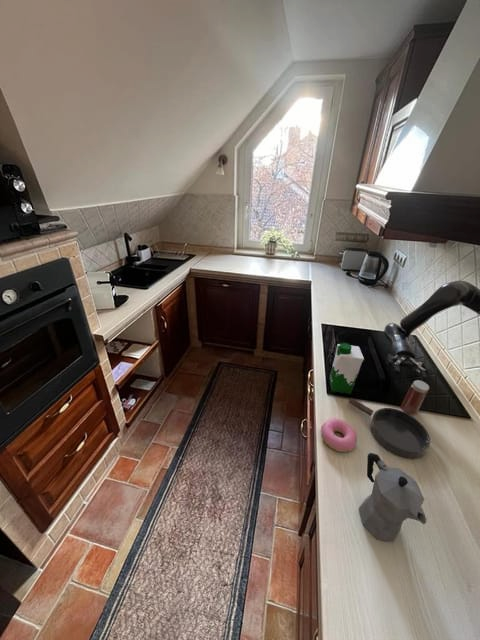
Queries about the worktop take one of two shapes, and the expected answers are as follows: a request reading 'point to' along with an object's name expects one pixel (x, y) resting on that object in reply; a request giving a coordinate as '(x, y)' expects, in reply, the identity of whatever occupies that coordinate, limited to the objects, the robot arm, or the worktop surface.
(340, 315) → the worktop surface
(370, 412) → the pan handle
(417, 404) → the shaker
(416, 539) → the worktop surface
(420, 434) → the pan
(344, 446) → the doughnut
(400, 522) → the coffeepot
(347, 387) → the milk carton
